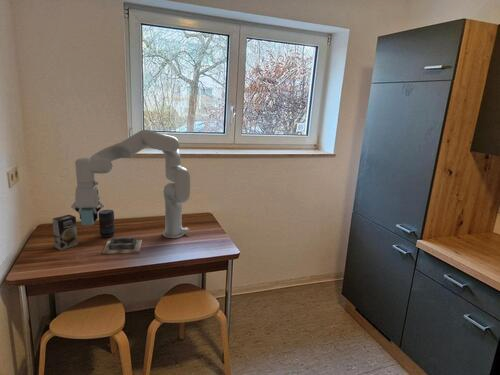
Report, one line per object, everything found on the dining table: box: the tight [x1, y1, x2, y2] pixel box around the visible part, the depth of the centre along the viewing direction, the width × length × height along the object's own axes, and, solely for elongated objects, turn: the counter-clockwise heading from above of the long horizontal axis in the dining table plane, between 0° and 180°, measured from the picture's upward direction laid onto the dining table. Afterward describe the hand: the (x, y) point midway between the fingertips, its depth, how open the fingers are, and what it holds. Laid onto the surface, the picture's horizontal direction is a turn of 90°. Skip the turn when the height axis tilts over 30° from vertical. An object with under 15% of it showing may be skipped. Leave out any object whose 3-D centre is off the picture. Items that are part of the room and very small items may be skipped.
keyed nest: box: [102, 237, 143, 255], centre depth 177 cm, size 18×14×4 cm
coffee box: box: [52, 214, 79, 251], centre depth 173 cm, size 9×6×16 cm
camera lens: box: [98, 209, 116, 239], centre depth 188 cm, size 8×8×15 cm
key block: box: [79, 208, 96, 226], centre depth 160 cm, size 5×8×7 cm, turn 12°
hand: (89, 220), depth 161 cm, fingers closed on key block, 5 cm apart
